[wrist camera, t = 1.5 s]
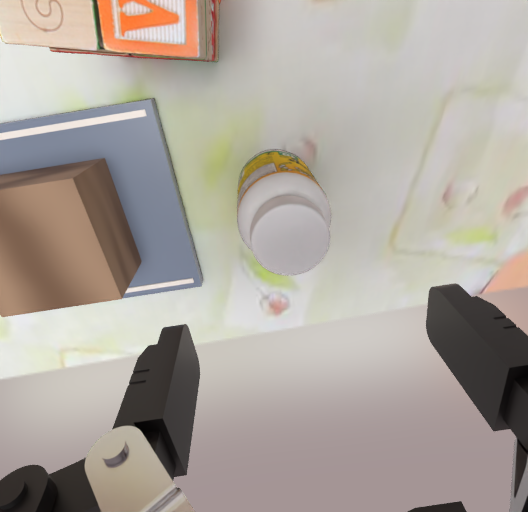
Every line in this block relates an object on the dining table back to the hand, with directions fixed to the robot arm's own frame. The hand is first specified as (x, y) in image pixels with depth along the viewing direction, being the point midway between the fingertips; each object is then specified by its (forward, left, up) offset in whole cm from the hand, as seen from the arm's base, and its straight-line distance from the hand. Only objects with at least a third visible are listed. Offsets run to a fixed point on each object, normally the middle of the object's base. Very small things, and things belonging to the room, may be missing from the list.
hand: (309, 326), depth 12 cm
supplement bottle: (0, 0, -16) cm, 16 cm away
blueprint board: (+15, 0, -16) cm, 22 cm away
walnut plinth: (+15, 0, -15) cm, 21 cm away
